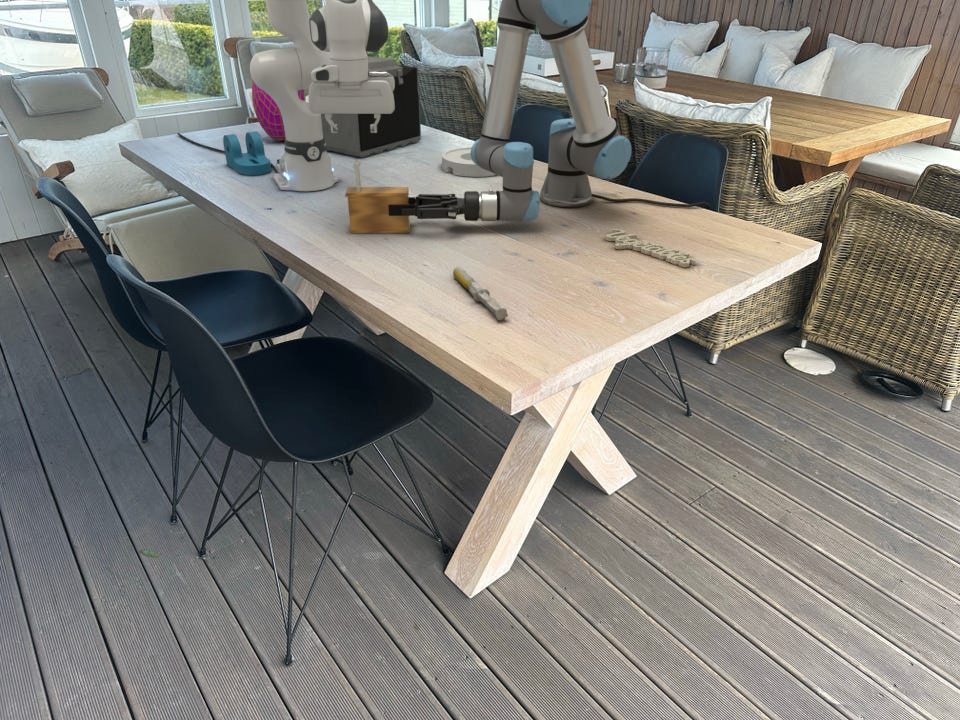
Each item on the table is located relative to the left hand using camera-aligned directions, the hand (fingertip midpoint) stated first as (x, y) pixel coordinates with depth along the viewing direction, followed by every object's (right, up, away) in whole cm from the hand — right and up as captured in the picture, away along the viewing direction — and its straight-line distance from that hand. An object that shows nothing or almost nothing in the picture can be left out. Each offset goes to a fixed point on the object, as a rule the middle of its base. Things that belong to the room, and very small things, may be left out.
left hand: (354, 132), depth 167 cm
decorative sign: (+71, -29, +2) cm, 77 cm away
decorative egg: (-45, +29, +97) cm, 111 cm away
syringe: (+30, -42, -22) cm, 57 cm away
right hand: (+7, -16, +10) cm, 20 cm away
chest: (+5, -21, +13) cm, 25 cm away
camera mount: (-46, +8, +62) cm, 77 cm away
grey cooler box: (-10, +25, +91) cm, 95 cm away
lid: (+4, -13, +8) cm, 16 cm away
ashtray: (+29, +10, +66) cm, 73 cm away
